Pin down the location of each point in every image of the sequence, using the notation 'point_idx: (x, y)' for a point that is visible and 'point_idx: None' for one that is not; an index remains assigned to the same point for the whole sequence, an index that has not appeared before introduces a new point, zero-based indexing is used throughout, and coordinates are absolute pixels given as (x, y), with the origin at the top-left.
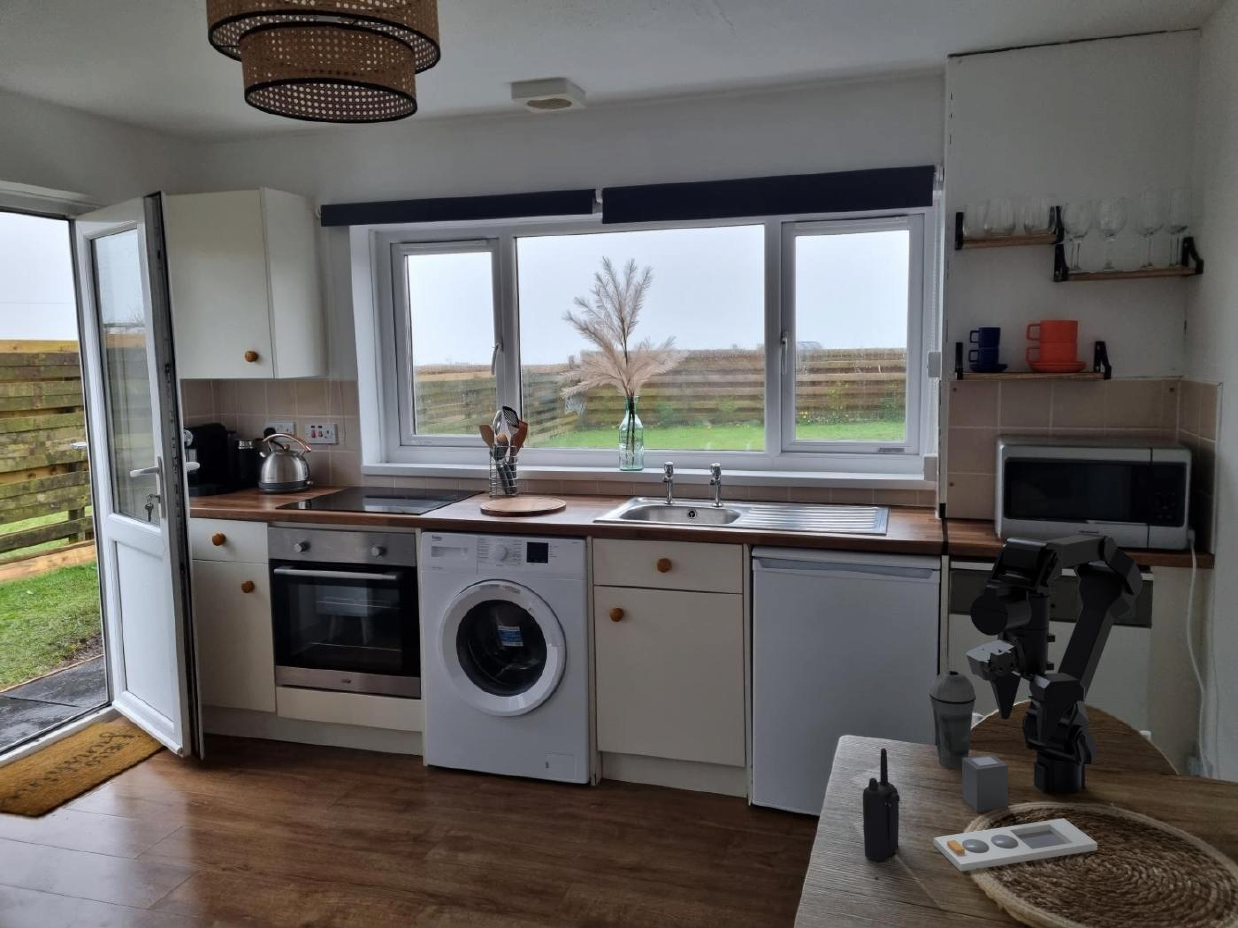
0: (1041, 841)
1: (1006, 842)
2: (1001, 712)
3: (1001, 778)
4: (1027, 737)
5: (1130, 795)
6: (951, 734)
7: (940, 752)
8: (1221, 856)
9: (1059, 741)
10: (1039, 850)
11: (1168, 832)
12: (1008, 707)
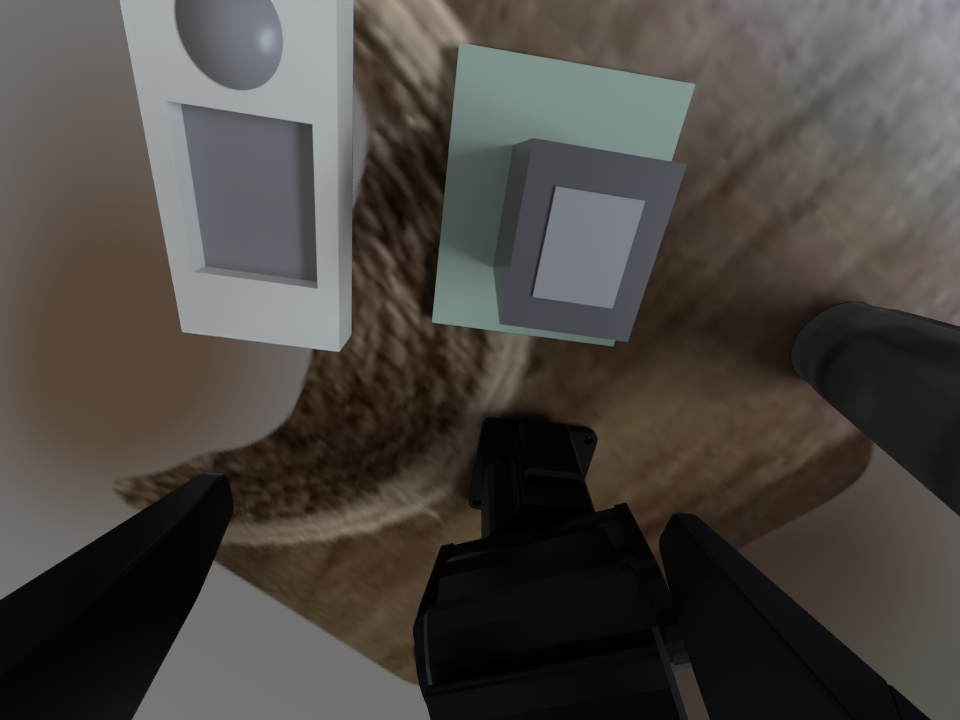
0: (267, 209)
1: (217, 29)
2: (704, 550)
3: (502, 274)
4: (604, 529)
5: None
6: (927, 364)
7: (896, 312)
8: None
9: (455, 584)
10: (154, 122)
11: (287, 519)
12: (699, 625)
